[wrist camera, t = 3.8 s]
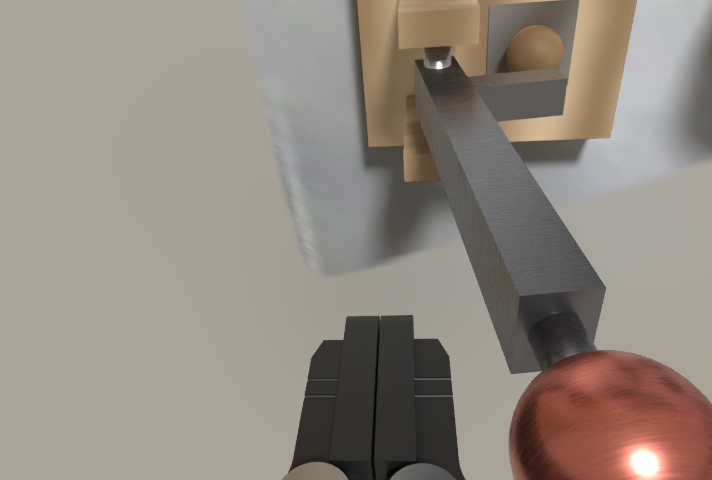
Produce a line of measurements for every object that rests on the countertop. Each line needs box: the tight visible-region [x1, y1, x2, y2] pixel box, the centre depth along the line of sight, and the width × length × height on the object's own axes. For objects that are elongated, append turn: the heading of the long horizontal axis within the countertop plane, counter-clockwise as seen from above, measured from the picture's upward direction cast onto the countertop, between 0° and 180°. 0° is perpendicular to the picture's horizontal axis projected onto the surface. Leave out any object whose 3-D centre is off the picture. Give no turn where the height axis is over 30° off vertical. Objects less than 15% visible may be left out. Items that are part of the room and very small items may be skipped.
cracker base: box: [357, 0, 637, 182], centre depth 27 cm, size 14×11×10 cm
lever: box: [414, 46, 712, 480], centre depth 17 cm, size 7×4×21 cm, turn 95°
